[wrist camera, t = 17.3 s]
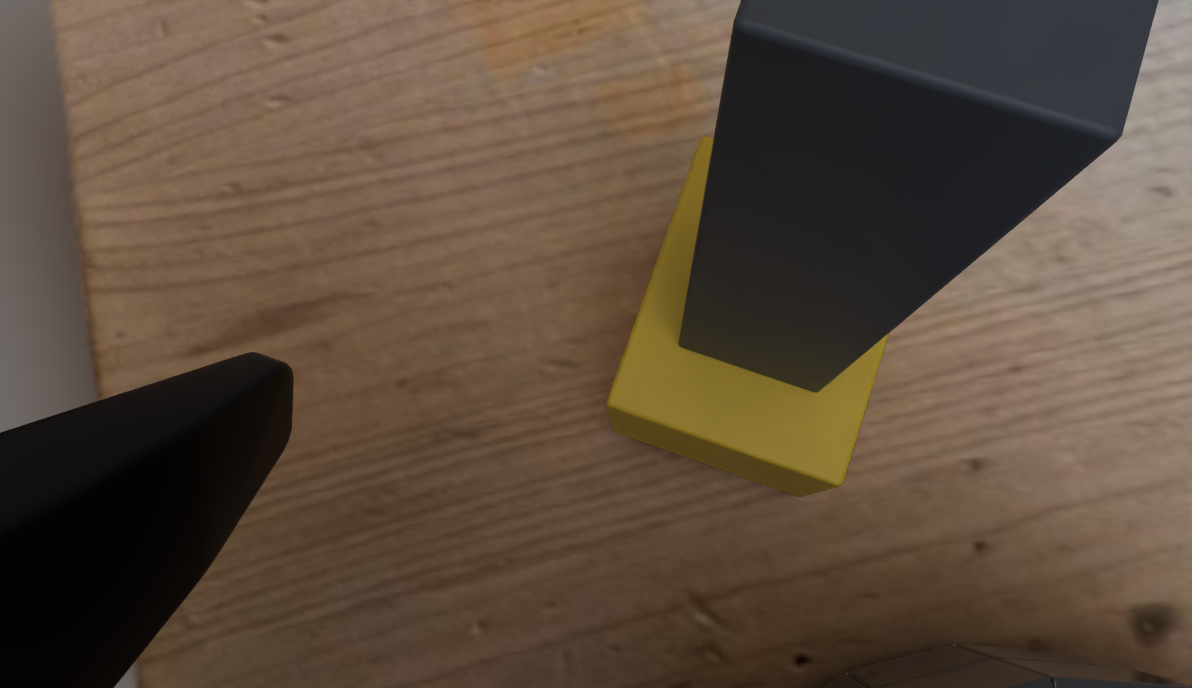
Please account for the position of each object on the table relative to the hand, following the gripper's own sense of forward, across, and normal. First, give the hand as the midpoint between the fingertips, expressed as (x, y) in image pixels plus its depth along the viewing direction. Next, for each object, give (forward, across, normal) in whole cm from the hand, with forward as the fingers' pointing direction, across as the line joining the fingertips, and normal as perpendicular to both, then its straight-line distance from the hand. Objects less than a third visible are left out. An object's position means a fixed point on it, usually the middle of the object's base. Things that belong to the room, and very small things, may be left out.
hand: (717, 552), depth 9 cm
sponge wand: (+10, 0, +4) cm, 11 cm away
